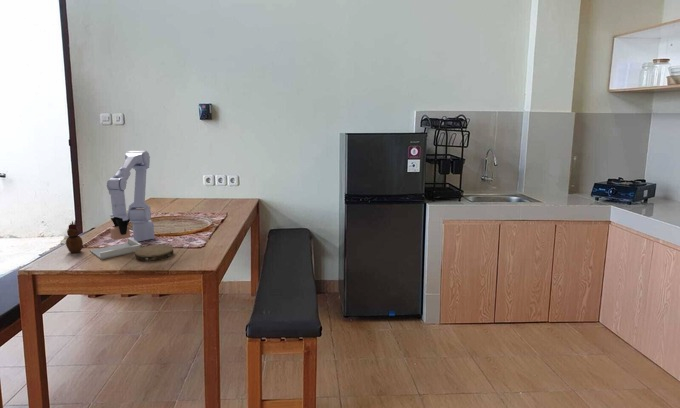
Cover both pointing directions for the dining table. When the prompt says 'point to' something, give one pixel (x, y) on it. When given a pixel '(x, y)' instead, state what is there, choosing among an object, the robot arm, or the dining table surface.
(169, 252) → the wooden log slice
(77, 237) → the wooden figurine
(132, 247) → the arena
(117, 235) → the terracotta block
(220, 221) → the dining table surface
